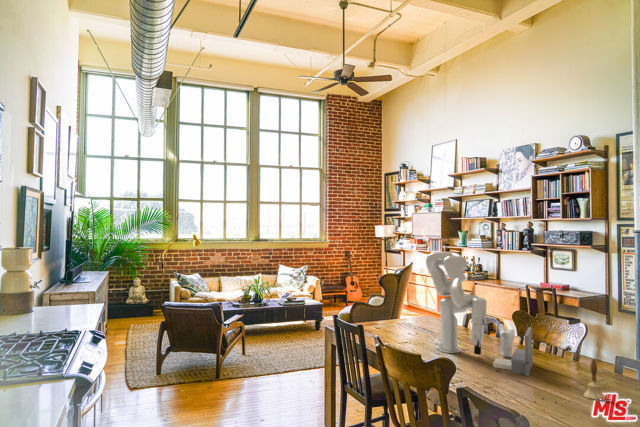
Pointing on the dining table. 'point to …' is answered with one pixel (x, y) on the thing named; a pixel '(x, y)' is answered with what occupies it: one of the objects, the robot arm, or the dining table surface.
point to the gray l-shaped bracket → (523, 356)
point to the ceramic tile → (502, 363)
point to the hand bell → (594, 385)
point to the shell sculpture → (506, 340)
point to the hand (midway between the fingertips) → (477, 353)
